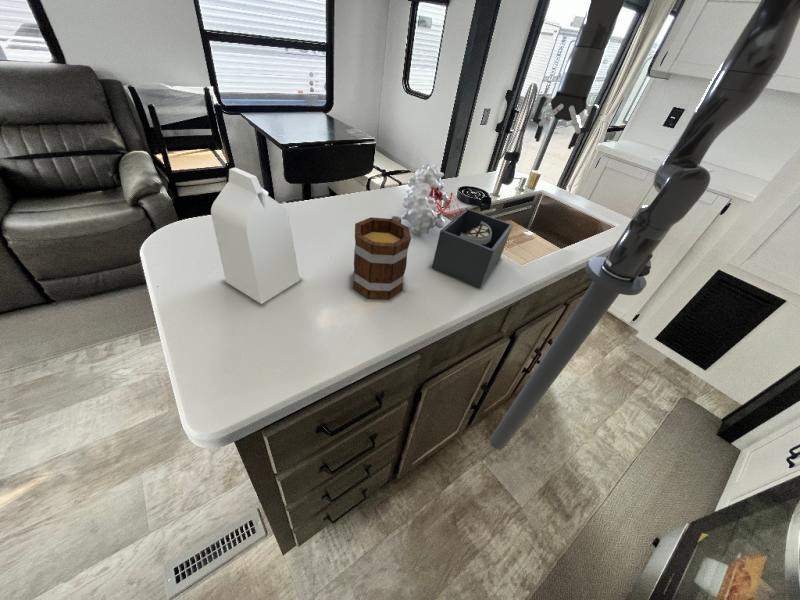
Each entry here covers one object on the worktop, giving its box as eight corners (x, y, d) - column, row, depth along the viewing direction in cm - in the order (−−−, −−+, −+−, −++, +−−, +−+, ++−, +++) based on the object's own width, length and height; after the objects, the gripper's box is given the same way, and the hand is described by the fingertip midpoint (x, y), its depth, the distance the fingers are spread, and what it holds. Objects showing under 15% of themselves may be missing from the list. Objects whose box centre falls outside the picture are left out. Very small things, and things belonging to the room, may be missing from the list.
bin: (499, 258, 99) (513, 224, 91) (479, 288, 86) (493, 251, 78) (456, 241, 103) (466, 207, 96) (431, 267, 90) (440, 230, 83)
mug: (394, 306, 76) (402, 253, 66) (342, 290, 78) (342, 237, 68) (415, 264, 91) (424, 215, 81) (371, 251, 93) (374, 202, 83)
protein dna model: (449, 246, 115) (436, 184, 120) (476, 222, 98) (459, 151, 103) (397, 248, 108) (386, 182, 113) (417, 222, 91) (402, 147, 97)
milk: (226, 282, 75) (193, 170, 58) (265, 261, 83) (247, 157, 66) (261, 304, 71) (237, 190, 54) (299, 280, 79) (289, 174, 62)
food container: (469, 274, 89) (479, 243, 82) (451, 264, 92) (459, 233, 85) (490, 258, 97) (501, 229, 90) (473, 249, 99) (482, 220, 93)
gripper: (547, 67, 77) (524, 141, 87) (611, 76, 72) (578, 153, 82) (553, 68, 82) (530, 137, 92) (613, 76, 77) (582, 148, 87)
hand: (553, 144), depth 87 cm, fingers open, 8 cm apart
